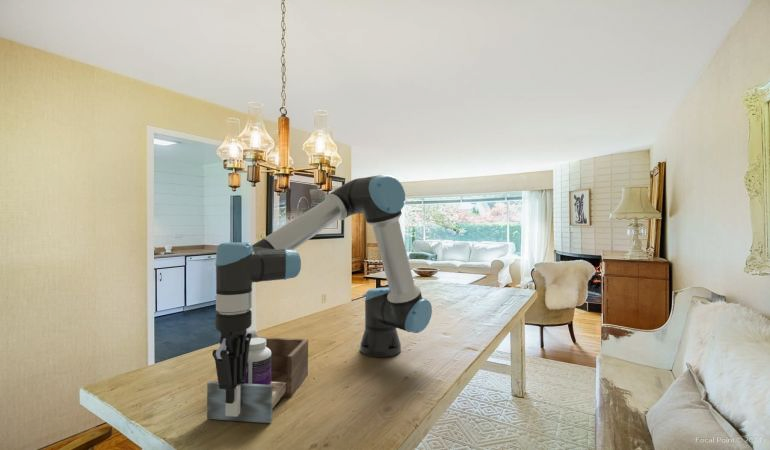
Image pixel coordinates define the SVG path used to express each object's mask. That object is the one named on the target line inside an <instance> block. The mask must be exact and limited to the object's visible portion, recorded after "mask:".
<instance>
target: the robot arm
mask: <svg viewBox="0 0 770 450" xmlns="http://www.w3.org/2000/svg"><path fill="white" fill-rule="evenodd" d="M405 201H406V193H405V189H404V187H403V185H402V183H401V182H400V181H399V179H398V178H396V177H395V176H392V175H388V174H387V175H386V174H385V175H383V174H378V175H372V176H367V177H359V178H355V179H351V180H349V181H348V182H346V183H345V184H343V185H340V186H339V187H338V188H336V189H334V190H333V191H332V192H330V193H329V194H327V195H326V196H325V199H324V200H323V201H321V202H320V203H318V204H317V205H315V206H314V207H313V206H312V208H310V209H308V210H306V211H305V212H304V213H302V214H300V215H298V216H297V217H295V218H294V219H292V220H291V221H289V222H287V223H286V224H285V225H282V226H281V227H280V228H278V229H276V230H275V231H273V232H271V233H270V234H269V235H267V236H265V237H264V238H262V239H260V240H258V241H257V242H255V243H253V244H252V243H250V242H244V241H243V242H237V241H236V242H235V241H234V242H222V243H219V245H218V246H217V249H216V254H215V255H216V256H215V290H216V291H215V293H216V294H215V297H214V299H215V310H216V313H215V323H214V324H215V326H214V327H215V330H216V331H217V332H220V337H219V344H220V345H219V347H218V349H213V350H212V357H213V359H214V362H215V368H216V376H217V382H218V384H219V389H225V390H226V407H225V416H234V417H237V416H238V415H239V414H240V384H244V383H245V380H242V378H243V377H245V376H246V371H247V362H248V354H249V346H250V341H251V337H252V334H251V333H246V329H249V328H250V327H251V326H252V321H253V318H252V314H253V312H252V310H251V309H252V307H253V283H260V282H261V283H262V282H269V281H279V280H280V281H281V280H284V281H286V280H288V279H294V278H296V277H298V275H299V274H300V272H301V270H302V269H301V268H302V260H301V256H300V254H299V252H298V251H297V250H296V249H297V248H299V247H300V246H302V245H303V244H304V243H306V242H308V241H309V240H310V239H311V238H313V237H315V236H317V235H318V234H319V233H321V232H322V231H324V230H325V229H326V228H328V227H329V226H331V225H332V224H334V223H335V222H336V221H338V220H339V221H343V220H345V219H346V218H348V217H350V216H353V215H358V214H364V218H365V220H366V223H367V224H368V225H370V226H371V227H372V229H373V233H374V236H375V240H376V243H377V244H376V245H377V248H378V252H379V255H380V258H381V259H380V260H381V263H382V267H383V270H384V274H385V277H386V282H387V286H388V287H387V286H386V287H377V288H376V287H375V288H369V289H368V290H367V291H366V293H365V299H364V314H365V315H364V316H365V319H364V324H365V326H364V332H363V334H362V338H361V341H360V342H359V343H360V345H359V347H360V348H359V350H360V352H361V353H362V354H363V355H365V356H368V357H373V358H390V357H393V356H396V355H398V354H400V353H401V347H402V345H401V341H400V337H399V334H398V330H397V329H399V330H402V331H405V332H408V333H413V334H419V333H421V332H423V331H424V330H425V329H426V328H427V326H428V325H429V323H430V321H431V318H432V315H433V307H432V304H431V302H430V300H428V299H427V298H423V296H422V291H421V289H420V287H419V286H418V285H415V281H414V278H413V272H412V269H411V266H410V261H409V257H408V254H407V250H406V245H405V240H404V237H403V233H402V229H401V225H400V221H399V220H400V217H401V216H402V213H403V212H402V210H403V208H404V206H405Z"/></svg>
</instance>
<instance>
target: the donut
mask: <svg viewBox="0 0 770 450" xmlns="http://www.w3.org/2000/svg"><path fill="white" fill-rule="evenodd" d="M246 333H251V334H252V337H251V338H258V337H259V334H258V331H257V330H256V329H255V328H252V327H251V328H250V327H249V328H248V329H246Z"/></svg>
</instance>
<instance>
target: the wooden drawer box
mask: <svg viewBox="0 0 770 450" xmlns="http://www.w3.org/2000/svg"><path fill="white" fill-rule="evenodd" d="M258 338H265V339H266V347H268V348H269V349H270V350H271V382H286V383H287V391H286V392H285V393H284V395H283V396H282V397H281V398H283V397H284V398H292V397H293V395H295V393H296V392H297V390H298V389H299V388H300V386H301V385H302V383H303V382H304V381H305V379H306V378H307V376H308V374H309V339H308V338H291V337H290V338H288V337H287V338H285V337H267V336H266V337H265V336H263V337H262V336H258Z"/></svg>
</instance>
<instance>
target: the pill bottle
mask: <svg viewBox="0 0 770 450" xmlns="http://www.w3.org/2000/svg"><path fill="white" fill-rule="evenodd" d="M242 380H245V383H248V384H265V385H271V350H270V349H269V348H268V347H266V339H265V338H251V341H250V346H249V354H248V362H247V371H246V376H245V377H243V378H242Z"/></svg>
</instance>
